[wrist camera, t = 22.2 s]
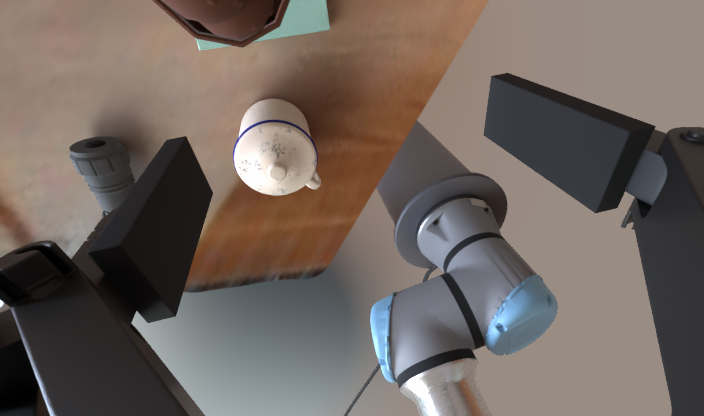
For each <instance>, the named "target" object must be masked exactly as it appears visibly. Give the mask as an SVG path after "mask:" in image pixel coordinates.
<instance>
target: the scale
mask: <svg viewBox="0 0 704 416" xmlns="http://www.w3.org/2000/svg"><path fill="white" fill-rule="evenodd" d="M325 30H330V25H329V18H328V10H327V3H326V0H290V2H289V5H288V7H287V10H286V12H285V15H284V18H283V20H282V23H281V25H280V27H278V28H277V29H275V30H273V31H271V32H269V33H268V34H266V35H264V36H262V37H261V38H259V39H257V40H255V41H253V42H256V41H263V40H269V39H275V38H281V37H287V36H294V35H300V34H306V33H312V32H319V31H325ZM195 39H196V38H195ZM196 41H197V44H198V47H199V49H200V50H206V49H213V48H219V47H225V46H231V45H227V44H222V43H216V42H211V41H205V40H200V39H196Z"/></svg>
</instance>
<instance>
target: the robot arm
mask: <svg viewBox="0 0 704 416" xmlns="http://www.w3.org/2000/svg"><path fill="white" fill-rule="evenodd" d="M484 136H486V137H487V138H489V139H490V140H491V141H493V142H494V143H496V144H497V145H499V146H500V147H502V148H503V149H504V150H506V151H507V152H509V153H510V154H512V155H513V156H514V157H516V158H517V159H519V160H520V161H522V162H523V163H524V164H526V165H527V166H529V167H530V168H532V169H533V170H534V171H536V172H537V173H539V174H540V175H542V176H543V177H544V178H546V179H547V180H549V181H550V182H552V183H553V184H554V185H556V186H557V187H559V188H560V189H562V190H563V191H565V192H566V193H567V194H569V195H570V196H572V197H573V198H575V199H576V200H577V201H579V202H580V203H582V204H583V205H585V206H586V207H587V208H589V209H590V210H592V211H593V212H595V213H599V212H602V211H607V210H611V209H615V208H617V207H618V205H619V203H620V201H621V199H622V197H623V195H624V192H625V191H626V192H628V193H629V194H631V195H633V196H635V198H634V200H633V202H632V204H631V206H630V208H629V210H628V212H627V215H626V216H625V218H624V220H623V222H622V225H621V227H623V228H625V227H626V226H627V224H628V223H630V222H633V223H634V225H633V227H632V229H634V230H635V233H636V238H637V243H638V247H639V252H640V257H641V262H642V267H643V271H644V275H645V280H646V285H647V290H648V295H649V300H650V305H651V309H652V314H653V318H654V323H655V328H656V333H657V338H658V343H659V347H660V352H661V357H662V362H663V366H664V371H665V376H666V381H667V385H668V390H669V395H670V400H671V406H672V416H704V128H701V127H681V128H674V129H671V130H669V131H668V132H667V134H666V133H663V132H660V131H657V130H655V126H653V125H651V124H648V123H645V122H642V121H640V120H637V119H634V118H631V117H628V116H625V115H623V114H620V113H617V112H615V111H612V110H609V109H606V108H603V107H600V106H598V105H595V104H592V103H590V102H586V101H584V100H581V99H578V98H576V97H572V96H570V95H567V94H565V93H562V92H559V91H556V90H553V89H551V88H548V87H545V86H542V85H539V84H537V83H534V82H531V81H528V80H526V79H523V78H520V77H517V76H514V75H512V74H509V73H505V74H501V75H495V76H492V77H491V83H490V91H489V98H488V106H487V114H486V121H485V129H484ZM212 195H213V192H212V190H211V188H210V186H209V184H208V181H207V179H206V177H205V175H204V173H203V171H202V169H201V167H200V165H199V163H198V160H197V158H196V156H195V154H194V152H193V150H192V148H191V146H190V144H189V141H188V139H187V137H186V136H185V137H180V138H175V139H170V140H166V142H165V143H164V144H163V146H162V147H161V149H160V150H159V151H158V153H157V154H156V156H155V157H154V158H153V160H152V161H151V163H150V164H149V165H148V167H147V168H146V170H145V171H144V172H143V174H142V175H141V177H140V178H139V179H138V181H137V182H136V184H135V185H134V186H133V188H132V189H131V191H130V192H129V193H128V195H127V196H126V198H125V199H124V200H123V202H122V203H121V205H120V206H119V207H117V208H115V209H114V210H112V211H111V212H110V213H108V214H107V215H106V216H105V217H103V218H102V219H101V221H100V222H99V223H98V225H97V226H96V227H95V229H94V231H93V232H92V233H91V234H90V235H89V237H88V238H87V241H85V242H84V243H83V245H82V246H81V247H80V249H79V250H78V251H77V253H76V254H75V255H74V257H73V258H72V259H70V258H69V257H68V256H67V255H66V254H65V253H64V252H63V251H62V249H61V248H60V247H59V246H58V245H57V244H56V243H54V242H52V241H39V242H35V243H31V244H28V245H25V246H23V247H21V248H18V249H16V250H13V251H12V252H10V253H8V254H6V255H5V256H3V257H1V258H0V300H1V301H3V302H4V303H5V304H6V305H8V306H9V307H10V309H8V310H5V311H3V312H0V416H205V415H204V414H203V413H202V411H201V410H200V409H199V407H198V406H197V405H196V404H195V402H194V401H193V400H192V398H191V397H190V396H189V395H188V393H187V392H186V391H185V390H184V388H183V387H182V386H181V385H180V383H179V382H178V381H177V379H176V378H175V377H174V376H173V374H172V373H171V372H170V370H168V368H167V367H166V366H165V364H164V363H163V362H162V360H161V359H160V358H159V357H158V355H157V354H156V353H155V351H154V350H153V349H152V348H151V346H150V345H149V344H148V343H147V341H146V340H145V339H144V338H143V336H142V335H141V334H140V332H138V330H137V329H136V328H135V327H134V326H133V325H132V324H131V322H132V320H133V317H134V315H135V313H136V311H138V312H139V314H140V315H141V316H142V317H143V318H144V319H145V320H146V321H147V322H148V323H150V322H154V321H158V320H162V319H166V318H171V317H174V316H176V314H177V311H178V307H179V304H180V301H181V297H182V294H183V291H184V287H185V284H186V281H187V277H188V274H189V271H190V267H191V264H192V261H193V258H194V254H195V251H196V248H197V244H198V241H199V238H200V234H201V231H202V228H203V224H204V221H205V218H206V214H207V211H208V208H209V204H210V201H211V198H212ZM415 240H416V244H417V246H418V248H419V249H420V251H421V253H422V254H423V255H424V256H425V257H426V258H427V259H429V260H430V261H431V262H432V263H434V265H433V266H432V267H431V268H430V269H429V270H428V271H427V273H426V275H425V276H424V279H423V282H422V283H420V284H417V285H415V286H412V287H410V288H407V289H404V290H402V291H400V292H394V293H392V295H391V296H389V297H386V298H384V299H382V300H380V301H378V302H377V303H375V304H374V305H373V307H372V309H371V317H370V319H371V330H372V336H373V341H374V346H375V350H376V354H377V357H378V358H379V364H378V366H377V367H376V369H375V370H374V372H373V373H372V374H371V376H370V377H369V379H368V380H367V382H366V383H365V385H364V386H363V387H362V389H361V390H360V392H359V393H358V395H357V396H356V398H355V399H354V401H353V402H352V404H351V405H350V407H349V409H348V410H347V412H346V413H345V415H344V416H347V415H348V413H349V412H350V410H351V408H352V407H353V405H354V404H355V402H356V401H357V399H358V398H359V397H360V395H361V394H362V392H363V391H364V389H365V387H366V386H367V385H368V384H369V382H370V381H371V379H372V378H373V376H374V375H375V374H376V372H377V371H378V369H379V368H380V367H381V370H382V373H383V375H384V377H385V379H386V380H387V381H389V382H393V383H395V382H397V383H398V386H399V388H400V391H401V393H402V394H403V395H405V396H407V397H408V398H410V399H412V400H413V401H414V402H415V403H416V405H417V407H418V410H419V413H420V416H492V414H491V412H490V410H489V408H488V406H487V405H486V402H485V400H484V398H483V396H482V394H481V392H480V390H479V388H478V386H477V384H476V382H475V373H476V370H477V366H478V361H477V359H476V358H475V355H474V353H473V350H475V349H478V348H480V347H482V346H485V345H486V346H487V348H488V349H489V350H490V351H491V352H492V353H494V354H496V355H504V354H507V355H508V354H511V353H514V352H516V351H519V350H521V349H523V348H525V347H526V346H528V345H529V344H531V343H532V342H534V341H535V340H536V339H537V338H539V337H540V336H541V335H542V334H543V333H544V332H545V331H546V330H547V329H548V328H549V326H550V325H551V324H552V322H553V321H554V319H555V317H556V313H557V308H558V305H557V300H556V298H555V296H554V295H553V294H552V292H551V291H550V290H549V289H548V288H547V286H546V285H545V284H544V282H543V280H542V278H541V277H540V276H539V275H537V274H536V273H535V272H534V271H533V270H532V269H531V267H530V266H529V265H528V264H527V263H526V262H525V261H524V260H523V259H522V258H521V257H520V255H519V254H518V253H517V252H516V251H515V250H514V249H513V248H512V247H511V246H510V245H509V244H508V243H507V241H505V239H504V238H503V237H502V236H501V234H500V231H499V228H498V225H497V222H496V220H495V217H494V214H493V212H492V210H491V208H490V207H489V206H488V205H487V204H486V203H485V202H484V201H483V200H482V199H481V198H479V197H477V196H473V195H457V196H453V197H450V198H447V199H445V200H443V201H441V202H439V203H438V204H436V205H435V206H433V207H432V208H431V209H430V210H428V211H427V212H426V214H425V215H424V216H423V217H422V219H421V220H420V222H419V224H418V226H417V228H416V233H415ZM437 267H439V268H440V269H441V270H442V271H443V272H444V273H445V274H442V275H440V276H437V277H435V278H432V279H430V280H427V279H428V277H429V275H430V273H431V272H432V271H433V270H435V269H436V268H437Z"/></svg>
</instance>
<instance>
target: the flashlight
mask: <svg viewBox="0 0 704 416" xmlns="http://www.w3.org/2000/svg"><path fill="white" fill-rule="evenodd" d="M70 151H71V154H70V159H71V161H72V162H73V164H74V166H75V168H76V170H77V172H78V173H79V174H81V175H83V177H84V179H85V181H86V182H88V186H89V187H90V190H91V191H92V192H93V193H94V194H95V196H96V198H97V200H98V202H99V204H100V206H101V208H102V209H103V210H104V211H103V213H102V218H103V217H105V216H106V215H107V214H108V213H110V212H111V211H112V210H114V209H115V208H117V207H119V206H120V205H121V203H122V202H123V200H124V199H125V198H126V196H127V195H128V193H129V192H130V191H131V189H132V188H133V186H134V185H135V183H134V178H133V175H132V173H131V169H130V166H129V164H130V158H129V156H128V153H127V151H126V148H125V146H124V145H123V144H120V142H119V140H118V139H117V138H114V137H94V138H89V139H85V140H82V141H79V142H76V143H74V144H73V145H72V146H70Z"/></svg>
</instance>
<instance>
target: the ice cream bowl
mask: <svg viewBox="0 0 704 416" xmlns="http://www.w3.org/2000/svg"><path fill="white" fill-rule="evenodd" d="M152 1H154V2H155V3H156V4H157V5H158V6H159V7H160V8H162V9H163V10H164V11H165V12H166V13H167V14H168V15H170V16H171V17H172V18H173V19H174V20H175V21H176V22H178V23H179V24H180V25H181V26H182V27H183V28H184V29H185V30H187V31H188V32H189V33H190V34H191V35H192V36H193V37H195V38H196V39H200V40H205V41H211V42H216V43H222V44H227V45H232V46H238V47H244V46H246V45H248V44H250V43H252V42H253V41H255V40H257V39H259V38H261V37H262V36H264V35H266V34H268V33H269V32H271V31H273V30H275V29H277V28H278V27H280V25H281V23H282V20H283V18H284V15H285V12H286V10H287V7H288V5H289V2H290V0H152Z"/></svg>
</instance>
